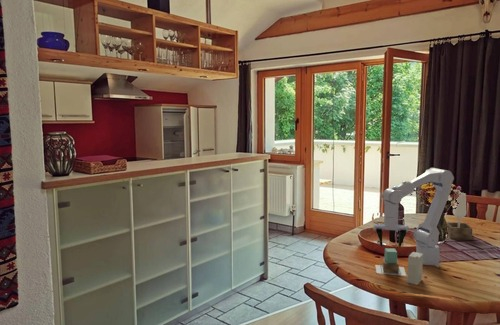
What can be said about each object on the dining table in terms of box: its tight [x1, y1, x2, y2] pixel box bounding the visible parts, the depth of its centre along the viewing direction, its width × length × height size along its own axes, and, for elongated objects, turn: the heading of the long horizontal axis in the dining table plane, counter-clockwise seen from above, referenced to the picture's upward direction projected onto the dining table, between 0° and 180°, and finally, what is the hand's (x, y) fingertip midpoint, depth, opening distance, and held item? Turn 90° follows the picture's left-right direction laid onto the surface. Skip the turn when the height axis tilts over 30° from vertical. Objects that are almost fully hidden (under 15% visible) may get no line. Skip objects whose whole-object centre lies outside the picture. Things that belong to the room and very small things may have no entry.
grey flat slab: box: [374, 264, 407, 277], centre depth 166 cm, size 12×9×1 cm
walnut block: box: [382, 257, 400, 274], centre depth 165 cm, size 6×6×4 cm
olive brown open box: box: [445, 221, 473, 241], centre depth 210 cm, size 11×11×6 cm
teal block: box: [383, 247, 398, 263], centre depth 165 cm, size 4×4×5 cm
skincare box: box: [406, 251, 424, 286], centre depth 154 cm, size 6×4×12 cm
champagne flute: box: [452, 192, 468, 228], centre depth 209 cm, size 7×7×24 cm
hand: (390, 245), depth 168 cm, fingers open, 7 cm apart
